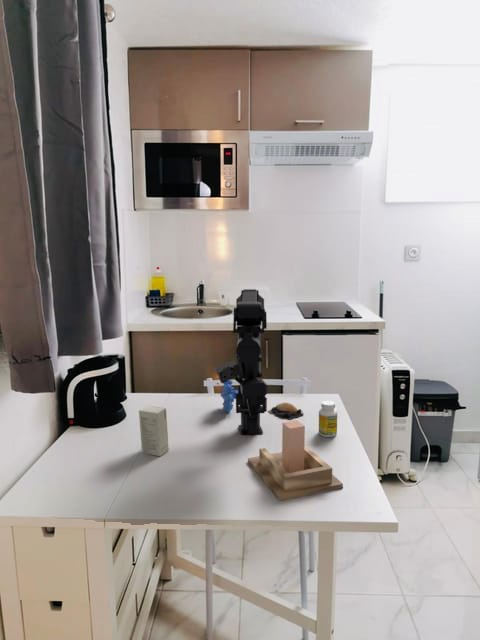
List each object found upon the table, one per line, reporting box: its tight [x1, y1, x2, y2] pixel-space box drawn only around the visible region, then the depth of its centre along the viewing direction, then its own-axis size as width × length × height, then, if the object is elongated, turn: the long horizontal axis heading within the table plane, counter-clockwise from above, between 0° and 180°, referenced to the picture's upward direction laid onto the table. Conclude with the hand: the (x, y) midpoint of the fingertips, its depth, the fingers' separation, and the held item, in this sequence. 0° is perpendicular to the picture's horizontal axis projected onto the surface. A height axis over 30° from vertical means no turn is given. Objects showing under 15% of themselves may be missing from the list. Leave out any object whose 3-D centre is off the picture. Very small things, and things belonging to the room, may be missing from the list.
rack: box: [247, 444, 344, 502], centre depth 122 cm, size 20×16×4 cm
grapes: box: [220, 379, 238, 413], centre depth 163 cm, size 12×7×12 cm, turn 4°
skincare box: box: [138, 405, 170, 457], centre depth 134 cm, size 6×4×12 cm
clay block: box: [281, 419, 306, 473], centre depth 121 cm, size 4×4×12 cm
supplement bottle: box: [318, 400, 338, 438], centre depth 145 cm, size 5×5×10 cm
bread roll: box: [266, 402, 305, 421], centre depth 162 cm, size 11×8×4 cm
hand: (249, 410), depth 129 cm, fingers open, 9 cm apart
